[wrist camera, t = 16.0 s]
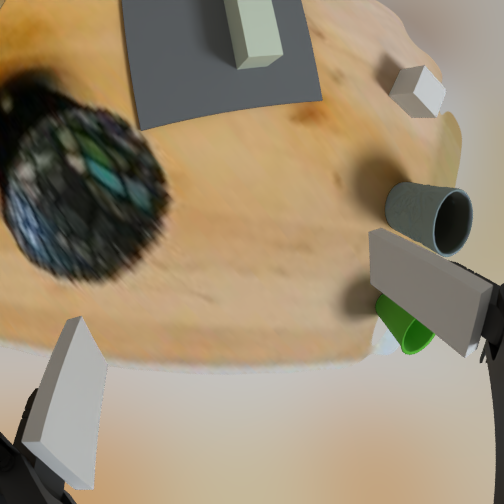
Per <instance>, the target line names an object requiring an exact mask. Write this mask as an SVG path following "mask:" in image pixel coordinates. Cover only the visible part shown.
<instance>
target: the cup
mask: <svg viewBox="0 0 504 504" xmlns="http://www.w3.org/2000/svg"><path fill="white" fill-rule="evenodd" d="M376 312H377V314H378V315H379V317H380V318H381V319H382V321H383V322H384V323H385V325H386V326H387V327H388V329H389V330H390V332H391V333H392V334H393V336H394V337H395V338H396V340H397V341H398V343H399V344H400V345H401V349H402V351H403V352H404V353H405V354H409V355H411V354H415V353H417V352H419V351H421V350H422V349H424V348H425V347H426V346H427V345H428V344H429V343H430V342H431V340H432V339H433V338H434V336H435V333H433V332H432V331H431V330H430V329H428V328H427V327H426V326H425V325H423V324H422V323H421V322H419V321H418V320H417V319H416V318H414V317H413V316H412V315H411V314H409V313H408V312H407V311H405V310H404V309H403V308H402V307H400V306H399V305H398V304H396V303H395V302H394V301H392V300H391V299H390V298H388V297H387V296H386V295H385V294H382V295H381V296H380V297H379V299H378V300H377V302H376Z"/></svg>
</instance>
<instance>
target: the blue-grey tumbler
mask: <svg viewBox="0 0 504 504" xmlns="http://www.w3.org/2000/svg"><path fill="white" fill-rule="evenodd" d="M385 216H386V219H387V222H388V223H389V225H390V226H391V227H392V228H393V229H395V230H396V231H398V232H400V233H402V234H403V235H406V236H408V237H409V238H411V239H413V240H414V241H417V242H420V243H422V244H423V245H424V246H426V247H428V248H430V249H431V250H433V251H434V252H436V253H438V254H440V255H441V256H443V257H450V256H452V255H454V254H456V253H457V252H458V251H459V250H460V249H461V248H462V247H463V246H464V244H465V242H466V241H467V239H468V236H469V234H470V230H471V227H472V220H473V209H472V204H471V200H470V198H469V196H468V195H467V193H465V192H464V191H463V190H461V189H457V188H449V187H437V186H430V185H423V184H417V183H411V182H402V183H398V184H397V185H396V186H394V188H392V189H391V192H390V193H389V195H388V197H387V200H386V205H385Z"/></svg>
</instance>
